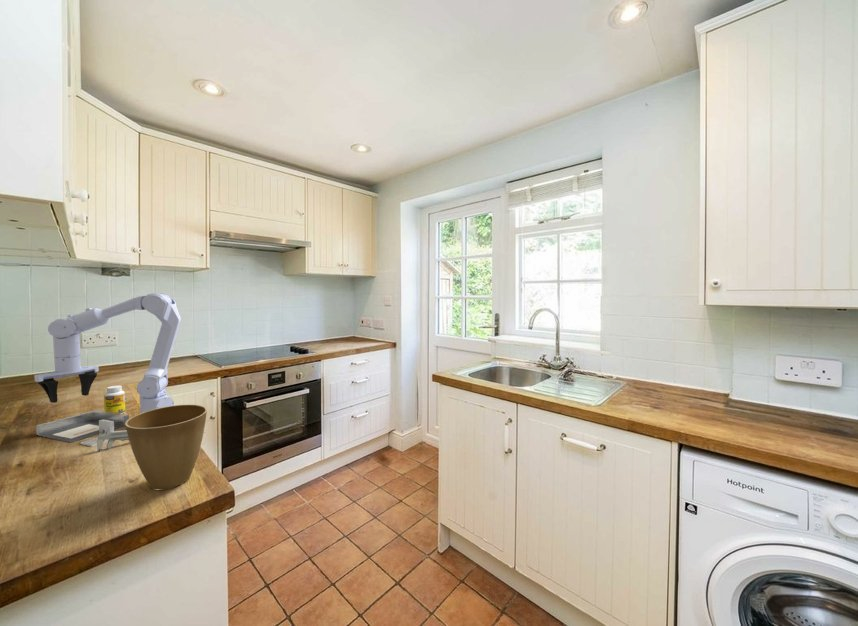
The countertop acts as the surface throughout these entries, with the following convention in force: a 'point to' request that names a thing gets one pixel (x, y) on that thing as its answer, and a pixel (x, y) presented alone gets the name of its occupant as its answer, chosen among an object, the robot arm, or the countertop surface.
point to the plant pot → (167, 443)
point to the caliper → (110, 438)
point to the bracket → (102, 425)
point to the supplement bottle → (114, 400)
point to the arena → (79, 425)
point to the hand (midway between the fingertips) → (70, 398)
